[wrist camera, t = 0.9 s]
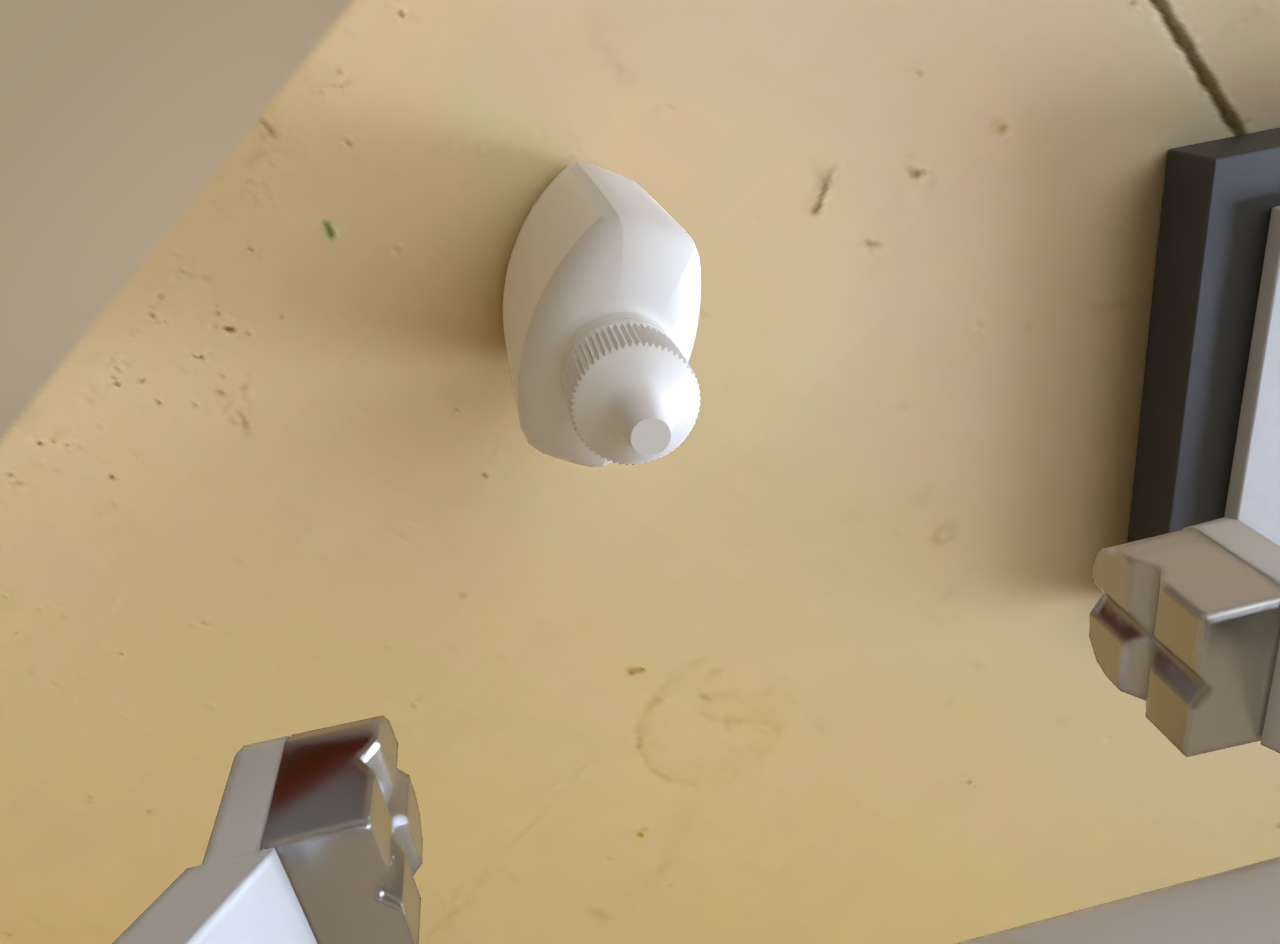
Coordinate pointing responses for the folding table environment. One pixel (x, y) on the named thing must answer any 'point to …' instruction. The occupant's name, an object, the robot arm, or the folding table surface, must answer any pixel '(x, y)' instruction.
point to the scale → (1214, 344)
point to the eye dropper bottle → (602, 322)
